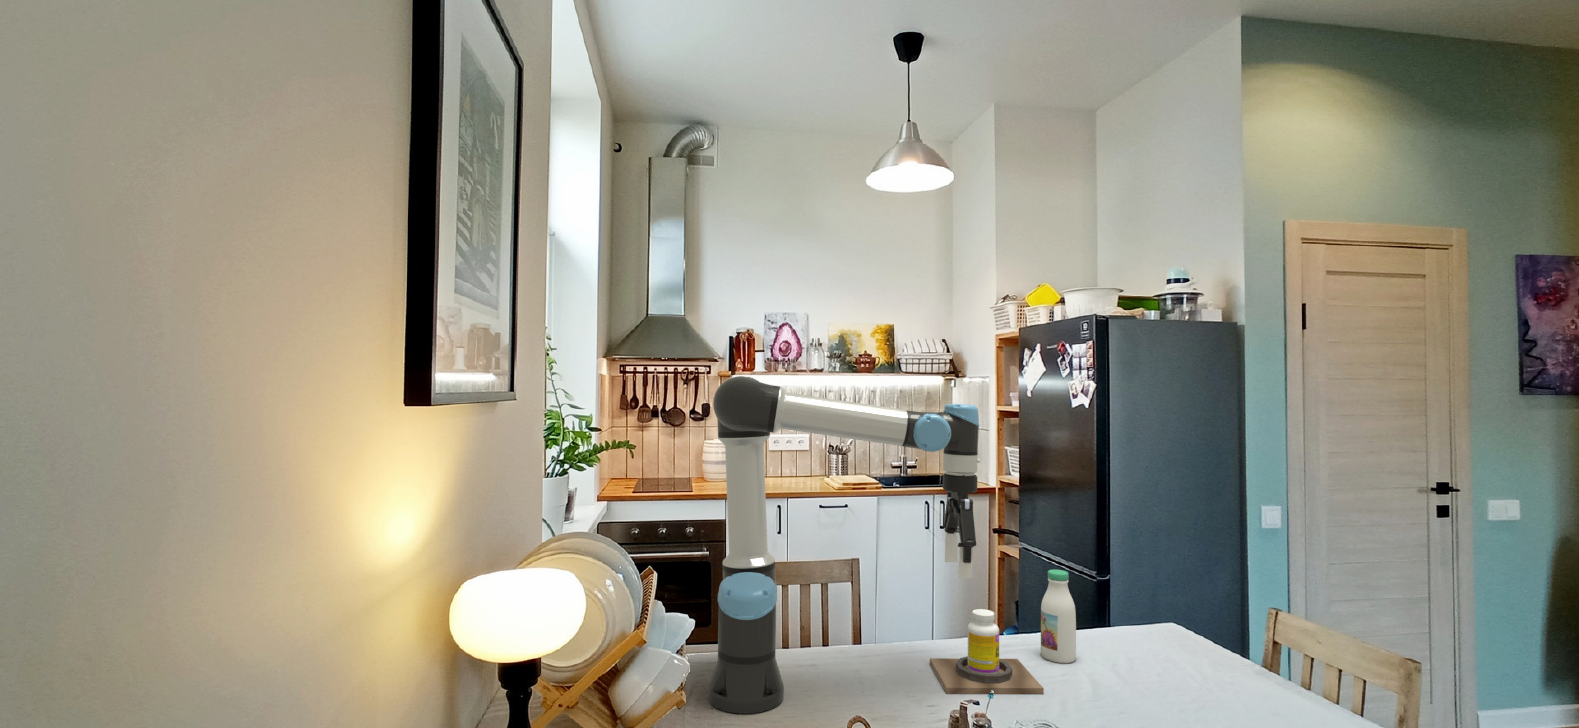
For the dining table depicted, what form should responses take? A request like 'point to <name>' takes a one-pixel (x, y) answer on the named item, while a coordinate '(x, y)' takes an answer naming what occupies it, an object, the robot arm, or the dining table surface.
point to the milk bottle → (1058, 620)
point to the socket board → (981, 688)
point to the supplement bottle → (983, 643)
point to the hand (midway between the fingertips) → (957, 569)
